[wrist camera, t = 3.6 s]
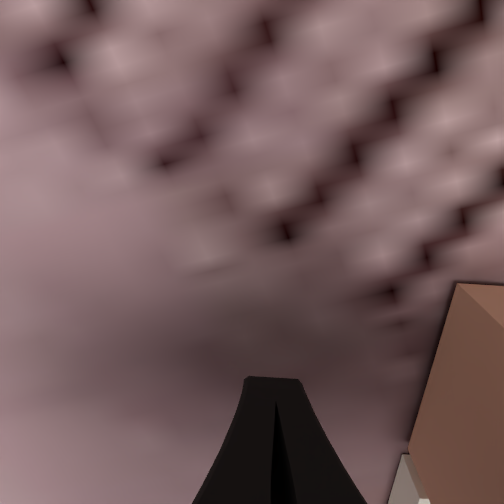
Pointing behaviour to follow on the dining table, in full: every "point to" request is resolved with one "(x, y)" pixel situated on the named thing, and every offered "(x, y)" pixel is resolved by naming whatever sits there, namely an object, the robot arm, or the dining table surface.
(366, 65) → the dining table surface
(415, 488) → the cream flat rectangular block
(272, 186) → the dining table surface
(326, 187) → the dining table surface
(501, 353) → the grey and tan bar
